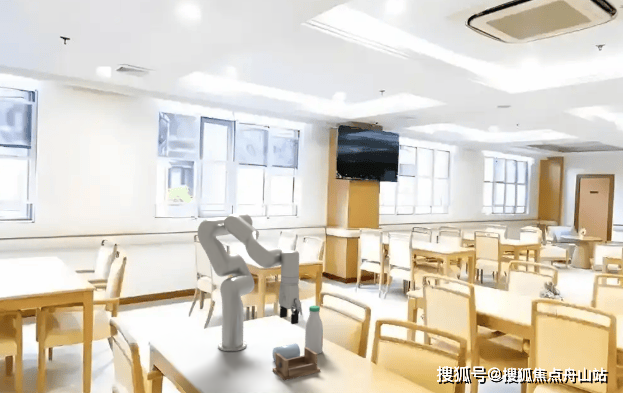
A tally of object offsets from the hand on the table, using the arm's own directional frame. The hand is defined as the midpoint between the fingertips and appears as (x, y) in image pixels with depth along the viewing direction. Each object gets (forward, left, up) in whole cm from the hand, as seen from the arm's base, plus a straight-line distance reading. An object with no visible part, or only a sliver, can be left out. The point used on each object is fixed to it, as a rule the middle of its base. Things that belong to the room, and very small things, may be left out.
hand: (288, 320), depth 183 cm
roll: (0, -1, -17) cm, 17 cm away
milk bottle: (-2, +14, -17) cm, 22 cm away
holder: (+12, -3, -17) cm, 20 cm away
